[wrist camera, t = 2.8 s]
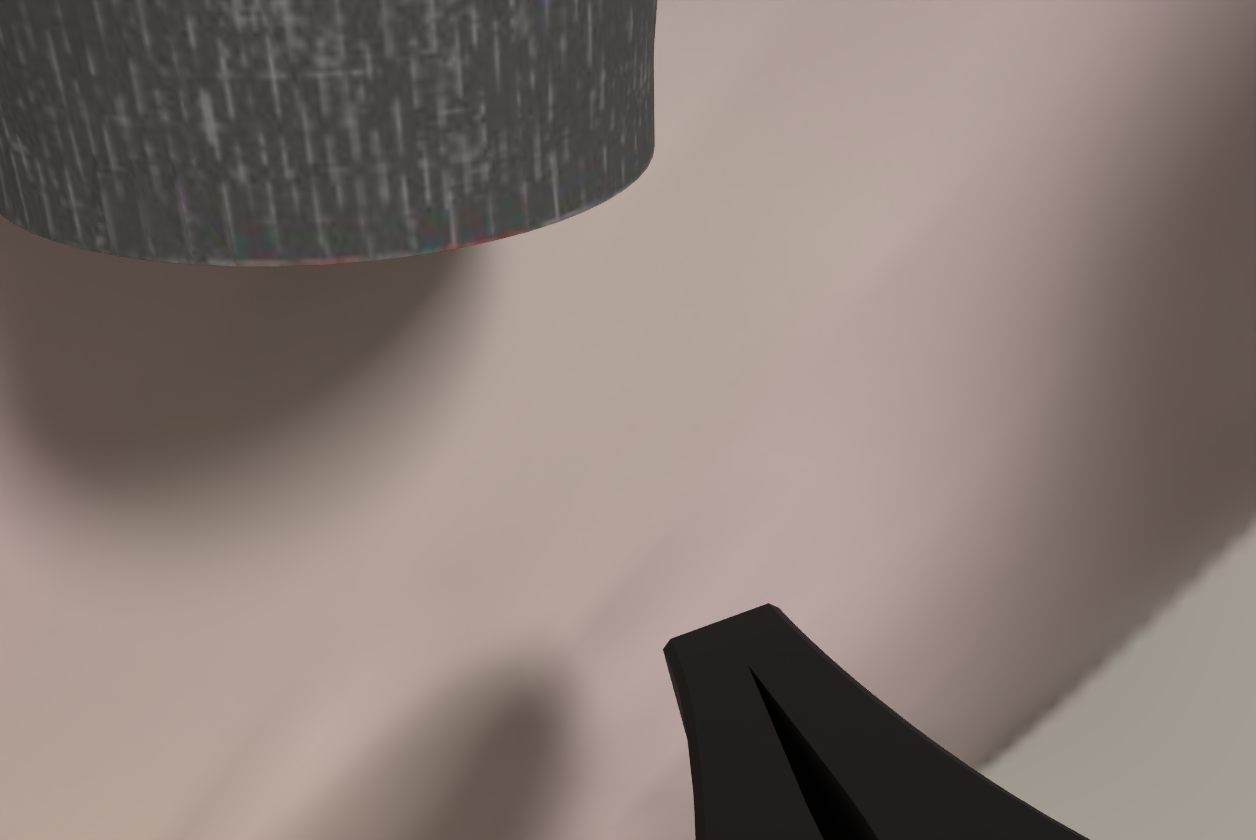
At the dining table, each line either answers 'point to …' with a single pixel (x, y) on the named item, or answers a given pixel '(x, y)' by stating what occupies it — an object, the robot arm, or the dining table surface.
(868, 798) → the robot arm
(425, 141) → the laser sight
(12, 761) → the dining table surface
